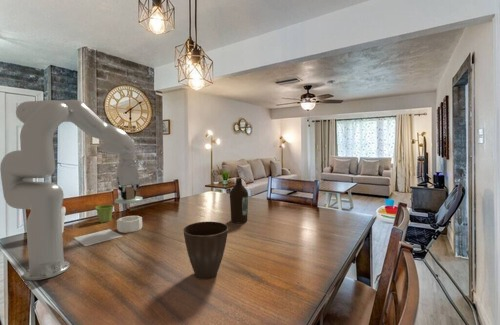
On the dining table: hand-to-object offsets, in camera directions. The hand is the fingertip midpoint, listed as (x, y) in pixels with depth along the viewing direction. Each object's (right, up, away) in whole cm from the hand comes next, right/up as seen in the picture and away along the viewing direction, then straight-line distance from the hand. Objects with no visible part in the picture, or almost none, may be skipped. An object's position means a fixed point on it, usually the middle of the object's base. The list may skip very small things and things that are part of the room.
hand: (128, 198), depth 133 cm
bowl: (0, -17, +1) cm, 17 cm away
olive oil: (+56, -16, +16) cm, 61 cm away
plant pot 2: (+48, -20, -45) cm, 68 cm away
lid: (0, -1, 0) cm, 1 cm away
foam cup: (-34, -18, -5) cm, 39 cm away
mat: (-10, -18, -10) cm, 23 cm away
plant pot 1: (-22, -16, +17) cm, 32 cm away
